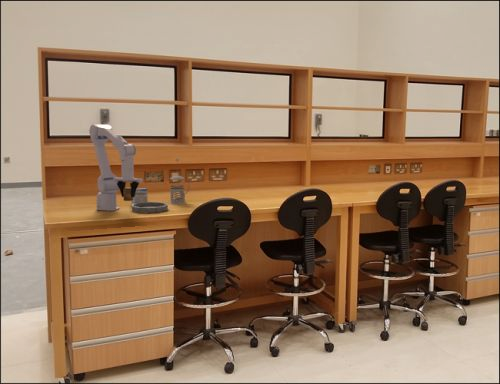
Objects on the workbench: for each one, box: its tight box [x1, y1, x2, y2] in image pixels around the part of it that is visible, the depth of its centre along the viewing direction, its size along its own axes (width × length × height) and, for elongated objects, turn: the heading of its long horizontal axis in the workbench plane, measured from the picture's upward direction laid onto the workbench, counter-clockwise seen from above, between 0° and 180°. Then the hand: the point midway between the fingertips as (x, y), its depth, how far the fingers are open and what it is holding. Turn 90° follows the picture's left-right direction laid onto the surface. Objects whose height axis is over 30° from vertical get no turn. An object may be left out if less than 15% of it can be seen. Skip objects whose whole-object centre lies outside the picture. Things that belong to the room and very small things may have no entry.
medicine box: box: [130, 187, 149, 205], centre depth 269 cm, size 8×4×9 cm, turn 126°
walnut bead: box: [123, 186, 133, 202], centre depth 240 cm, size 4×4×6 cm
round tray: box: [131, 201, 169, 214], centre depth 253 cm, size 18×18×3 cm
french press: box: [168, 158, 191, 205], centre depth 275 cm, size 10×12×25 cm
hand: (128, 196), depth 240 cm, fingers closed on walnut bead, 4 cm apart
